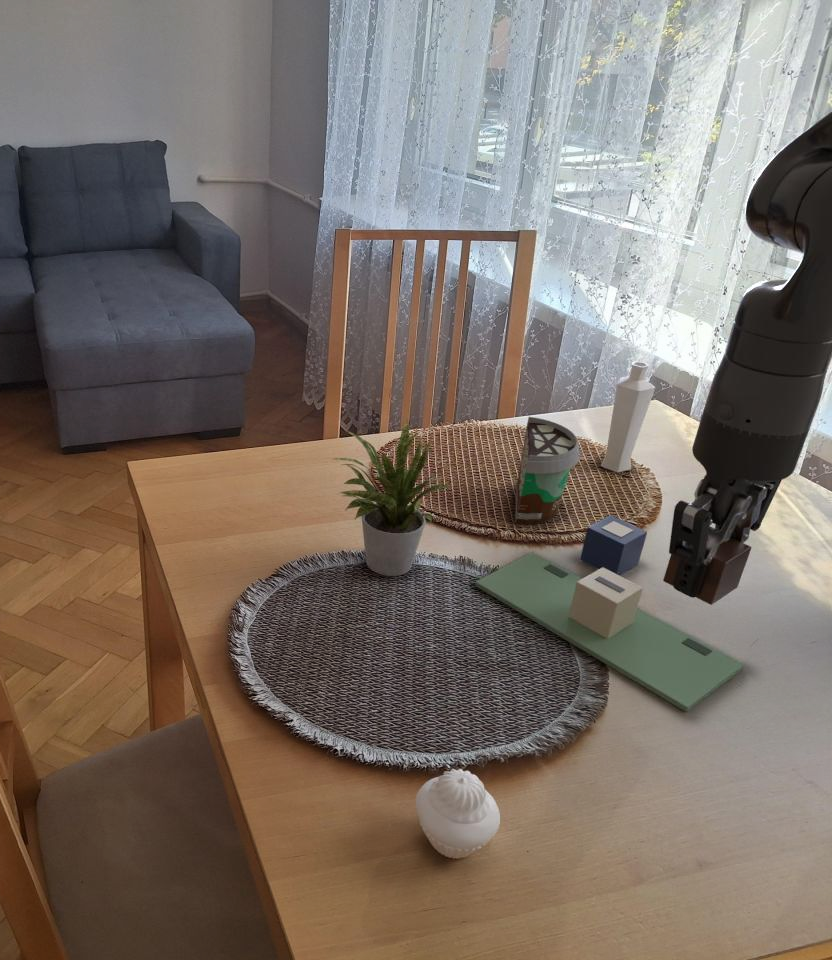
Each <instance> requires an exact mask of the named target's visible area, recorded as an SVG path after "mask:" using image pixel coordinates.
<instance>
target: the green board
mask: <svg viewBox="0 0 832 960" xmlns="http://www.w3.org/2000/svg"><path fill="white" fill-rule="evenodd" d="M581 579H583V578H582V577H581V576H579V575H577V574H575V573H573V572H571V571H569V570H568V569H565V568H563V567H561V566H560V565H558V564H556V563H554V562H552V561H550V560H548V559H547V558H545V557H543V556H541V555H539V554H537V553H535V552H534V551H531V552H530V553H528V554H526V555H523V556H522V557H520V558H518V559H516V560H514V561H513V562H510V563H509V564H507V565H505V566H503V567H500V568H499V569H497V570H495V571H493V572H491V573H489V574H487V575H486V576H484V577H481V578H480V579H478V580H476V581H475V583H474V586H475V587H476V588H478V589H479V590H481V591H483V592H485V593H486V594H488V595H490V596H491V597H493V598H495V599H496V600H498V601H499V602H502V603H503V604H504V605H506V606H508V607H510V608H511V609H513V610H515V611H516V612H518V613H520V614H521V615H523V616H524V617H526V618H528V619H530V620H531V621H533V622H535V623H536V624H538V625H540V626H541V627H543V628H544V629H546V630H548V631H550V632H551V633H553V634H554V635H557V636H558V637H560V638H561V639H563V640H565V641H566V642H568V643H570V644H571V645H573V646H575V647H576V648H578V649H580V650H581V651H583V652H585V653H587V654H588V655H590V656H592V657H593V658H595V659H596V660H598V661H600V662H602V663H603V664H605V665H606V666H608V667H610V668H612V669H613V670H615V671H616V672H618V673H619V674H622V676H624V677H627V678H629V679H630V680H632V681H633V682H634V683H637V684H638V685H640V686H642V687H644V688H645V689H647V690H648V691H650V692H651V693H653V694H655V695H657V696H658V697H660V698H662V699H663V700H665V701H667V702H669V703H670V704H672V705H673V706H675V707H676V708H679V709H680V710H681V711H683V712H685V713H687V712H689V711H690V710H691V709H692V708H694V707H695V706H697V704H700V702H701V701H703V700H704V699H706V698H707V697H709V695H711V694H712V693H713V692H714V691H716V690H718V689H719V688H720V687H721V686H723V685H724V684H725V683H727V682H728V681H729V680H730V679H731V678H733V677H734V676H735V675H737V674H738V673H739V672H741V671H742V670H743V669H744V666H745V664H744V663H743V662H741V661H739V660H737V659H735V658H733V657H731V656H729V655H728V654H725V653H723V652H722V651H720V650H719V649H716V648H715V647H712V646H710V645H708V644H706V643H705V642H703V641H701V640H699V639H697V638H695V637H693V636H691V635H690V634H688V633H686V632H684V631H682V630H680V629H678V628H676V627H675V626H673V625H671V624H669V623H667V622H665V621H664V620H661V619H660V618H658V617H656V616H654V615H652V614H650V613H648V612H646V611H644V610H643V609H640V608H639V607H637V610H636V614H635V617H634V621H633V623H632V624H630V625H629V626H627V627H626V628H624V629H622V630H621V631H619V632H618V633H616V634H615V635H613V636H611V637H610V638H608V639H606V638H605V637H603V636H601V635H599V634H598V633H596V632H594V631H592V630H591V629H589V628H587V627H585V626H584V625H582V624H580V623H579V622H577V621H575V620H573V619H572V618H570V617H569V612H570V608H571V604H572V600H573V596H574V591H575V587H576V583H577V582H578V581H579V580H581Z"/></svg>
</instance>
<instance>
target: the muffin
mask: <svg viewBox="0 0 832 960" xmlns="http://www.w3.org/2000/svg"><path fill="white" fill-rule="evenodd" d="M414 801H415V802H414V806H415V811H416V815H417V820H418V822H419V826H420V827H421V829H422V832H423V833H424V835H425V836H426V838H427V839H428V841H429V843H430V844H431V846H432V847H433V848H434V850H435V851H436V852H437V853H439V854H440V855H441V856H445V857H446V858H448V859H451V858H452V859H453V860H454V859H457V860H459V859H463V858H466V857H468V856H470V855H472V854H474V853H475V852H477V851H479V850H481V848H483V847H485V846H486V845H487V844H488V843H489V842H490V841H491V839H493V837H494V836H495V835H496V834H497V832H498V831H499V829H500V825H501V813H500V810H499V806H498V804H497V802H496V800H495V799H494V797H493V795H491V793H489V792H488V790H486V789H485V785H484V783H483V782H482V780H480V779H479V777H478V776H477V775H476V774H474V773H471V771H469V770H464V769H462V768H459V769H457V770H456V769H455V768H451V769H450V771H449V770H444V771H443V774H442V775H439V776H437V777H433V778H430V779H429V780H427V781H426V782H425V783H423V785H422V786H421V787H420V788H419V790H418V792H417V793H416V796H415V800H414Z"/></svg>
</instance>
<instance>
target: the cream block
mask: <svg viewBox="0 0 832 960" xmlns="http://www.w3.org/2000/svg"><path fill="white" fill-rule="evenodd" d="M643 589H644V588H643V586H641V585H638V584H637V583H635V582H633V581H631V580H629V579H627V578H625V577H623V576H621V575H620V576H619V575H617V574H615V573H613V572H611V571H609V570H607V569H605V568H603V567H602V568H600V569H596V570H595V571H593V572H591V573H589V574H588V575H587V576H585V577H583V578H582V579H581V580H579V581H578V582H577V583H576V587H575V591H574V596H573V600H572V604H571V608H570V612H569V617H570V618H572V619H573V620H575V621H577V622H579V623H580V624H582V625H584V626H585V627H587V628H589V629H591V630H592V631H594V632H596V633H598V634H599V635H601V636H603V637H605V638H606V639H608V638H610V637H611V636H613V635H615V634H616V633H618V632H619V631H621V630H622V629H624V628H626V627H627V626H629V625H630V624H632V623H633V621H634V617H635V614H636V610H637V608H639V603H640V600H641V596H642V592H643Z"/></svg>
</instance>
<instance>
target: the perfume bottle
mask: <svg viewBox="0 0 832 960" xmlns="http://www.w3.org/2000/svg"><path fill="white" fill-rule="evenodd" d="M648 368H650V365H649V364H648V363H646V362H645V361H634V360H633V361H632V362H631V369H630V372H629V375H626V376H622V377H620V378H619V380H618V382H617V384H616V389H615V396H614V401H613V407H612V408H613V409H612V414H611V421H610V427H609V432H608V439H607V445H606V451H605V456H604V458H603V459H602V461H601V464H600V467H602V468H604V469H607V470H609V471H612V472H614V473H621V472H625V471H630V470H632V464H631V463H632V462H631V458H632V455H633V452H634V450H635V447H636V443H637V441H638V438H639V435H640V432H641V429H642V427H643V424H644V420H645V418H646V415H647V412H648V410H649V407H650V404H651V400H652V398H653V395H654V392H655V390H656V386H654V384H652V383H651V382H649V380H647V379H646V376H647V373H648V370H649V369H648Z"/></svg>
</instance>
